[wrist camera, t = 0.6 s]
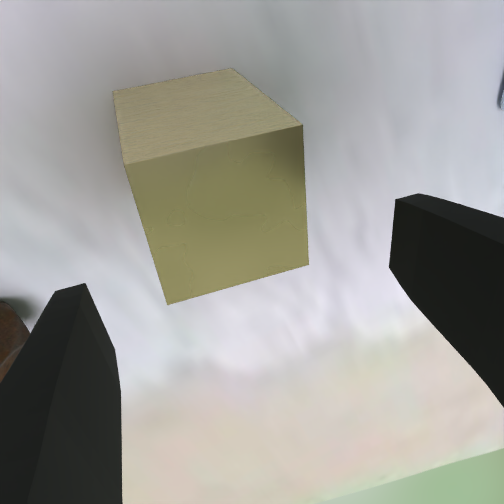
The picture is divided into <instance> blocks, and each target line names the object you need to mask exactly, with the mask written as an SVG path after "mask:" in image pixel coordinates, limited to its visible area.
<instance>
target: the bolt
mask: <svg viewBox="0 0 504 504" xmlns="http://www.w3.org/2000/svg"><path fill="white" fill-rule="evenodd" d="M29 335H30V332H29V331H28V329H27V327H26V326H25V324H24V323H23V322H22V320H21V319H20V318H19V316H18V315H17V314H16V312H15V311H14V310H13V309H12V308H11V307H10V306H9V305H8V304H6V303H4V302H1V301H0V382H1V381H2V379H3V378H4V376H5V375H6V373H7V371H8V370H9V368H10V367H11V365H12V363H13V362H14V360H15V358H16V357H17V355H18V353H19V352H20V350H21V349H22V347H23V345H24V344H25V342H26V340H27V338H28V337H29Z"/></svg>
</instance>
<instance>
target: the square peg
mask: <svg viewBox="0 0 504 504" xmlns="http://www.w3.org/2000/svg"><path fill="white" fill-rule="evenodd" d="M113 97H114V104H115V110H116V117H117V123H118V130H119V137H120V143H121V150H122V156H123V163H124V167H125V170H126V173H127V177H128V180H129V183H130V186H131V189H132V193H133V196H134V199H135V202H136V206H137V209H138V212H139V215H140V218H141V222H142V225H143V228H144V231H145V235H146V238H147V241H148V244H149V247H150V251H151V254H152V257H153V260H154V264H155V267H156V270H157V273H158V276H159V280H160V283H161V286H162V289H163V293H164V296H165V299H166V302H167V305H170V304H173V303H177V302H180V301H184V300H187V299H191V298H194V297H198V296H201V295H205V294H208V293H212V292H215V291H219V290H222V289H226V288H229V287H233V286H236V285H240V284H243V283H247V282H250V281H254V280H257V279H261V278H264V277H268V276H271V275H275V274H278V273H282V272H285V271H289V270H292V269H296V268H299V267H303V266H306V265H309V257H308V234H307V212H306V189H305V166H304V143H303V125H302V124H301V123H300V122H299V121H297V120H296V119H295V118H294V117H292V116H291V115H290V114H289V113H287V112H286V111H285V110H284V109H282V108H281V107H280V106H279V105H277V104H276V103H275V102H274V101H272V100H271V99H270V98H269V97H267V96H266V95H265V94H264V93H262V92H261V91H260V90H259V89H257V88H256V87H255V86H254V85H252V84H251V83H250V82H249V81H247V80H246V79H245V78H244V77H242V76H241V75H240V74H239V73H237V72H236V71H235V70H234V69H232V68H230V69H225V70H220V71H215V72H210V73H204V74H199V75H194V76H189V77H184V78H179V79H174V80H168V81H163V82H158V83H153V84H148V85H143V86H138V87H132V88H127V89H122V90H117V91H113Z"/></svg>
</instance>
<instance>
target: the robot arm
mask: <svg viewBox="0 0 504 504" xmlns="http://www.w3.org/2000/svg"><path fill="white" fill-rule="evenodd" d="M501 108H502V110H504V91H503V95H502V100H501ZM389 268H390V270H391V271H392V273H393V274H394V276H395V278H396V279H397V281H398V282H399V284H400V285H401V287H402V288H403V290H404V291H405V292H406V294H407V295H408V297H409V298H410V299H411V301H412V302H413V303H414V304H415V305H416V306H417V308H418V309H419V310H420V311H421V312H422V313H423V314H424V315H425V316H426V318H427V319H428V320H429V321H430V322H431V323H432V324H433V325H434V326H435V328H436V329H437V330H438V331H439V332H440V333H441V334H442V335H443V336H444V337H445V338H446V340H447V341H448V342H449V343H450V344H451V345H452V346H453V347H454V348H455V349H456V350H457V352H458V353H459V354H460V355H461V356H462V357H463V358H464V359H465V360H466V361H467V362H468V364H469V365H470V366H471V367H472V368H473V369H474V370H475V371H476V373H477V374H478V375H479V376H480V377H481V379H482V380H483V381H484V382H485V383H486V384H487V386H488V387H489V388H490V390H491V391H492V392H493V394H494V395H495V396H496V398H497V399H498V400H499V402H500V403H501V405H502V406H503V407H504V218H503V217H499V216H496V215H493V214H490V213H487V212H483V211H480V210H477V209H474V208H470V207H467V206H464V205H461V204H457V203H454V202H451V201H447V200H444V199H440V198H437V197H433V196H429V195H424V194H419V193H418V194H414V195H410V196H407V197H403V198H399V199H395V210H394V220H393V231H392V241H391V252H390V262H389ZM0 504H122V434H121V389H120V381H119V374H118V367H117V360H116V353H115V349H114V346H113V344H112V342H111V340H110V337H109V335H108V333H107V331H106V328H105V326H104V324H103V322H102V319H101V317H100V315H99V313H98V310H97V308H96V306H95V304H94V301H93V299H92V297H91V295H90V292H89V290H88V288H87V286H86V283H83V284H80V285H76V286H72V287H69V288H65V289H61V290H57V291H55V292H54V294H53V295H52V297H51V299H50V300H49V302H48V304H47V305H46V307H45V309H44V311H43V312H42V314H41V316H40V318H39V319H38V321H37V323H36V325H35V326H34V328H33V330H32V332H31V333H30V335H29V337H28V338H27V340H26V342H25V344H24V345H23V347H22V349H21V350H20V352H19V353H18V355H17V357H16V358H15V360H14V362H13V363H12V365H11V367H10V368H9V370H8V371H7V373H6V375H5V376H4V378H3V379H2V381H1V382H0Z"/></svg>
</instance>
